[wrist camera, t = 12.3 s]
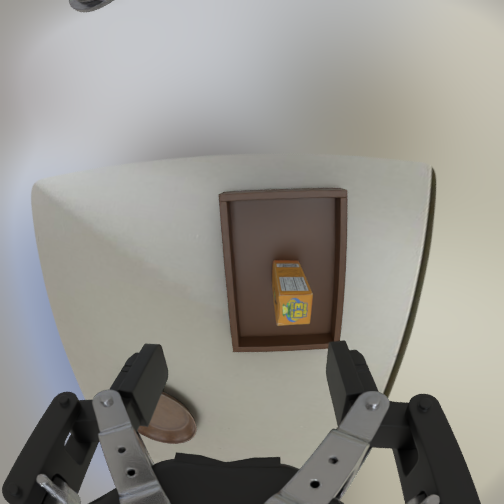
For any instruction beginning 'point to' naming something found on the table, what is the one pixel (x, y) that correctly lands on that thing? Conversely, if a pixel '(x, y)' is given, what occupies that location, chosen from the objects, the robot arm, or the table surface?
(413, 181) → the table surface
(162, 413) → the saucer
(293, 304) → the supplement box
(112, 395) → the robot arm
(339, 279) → the tray
